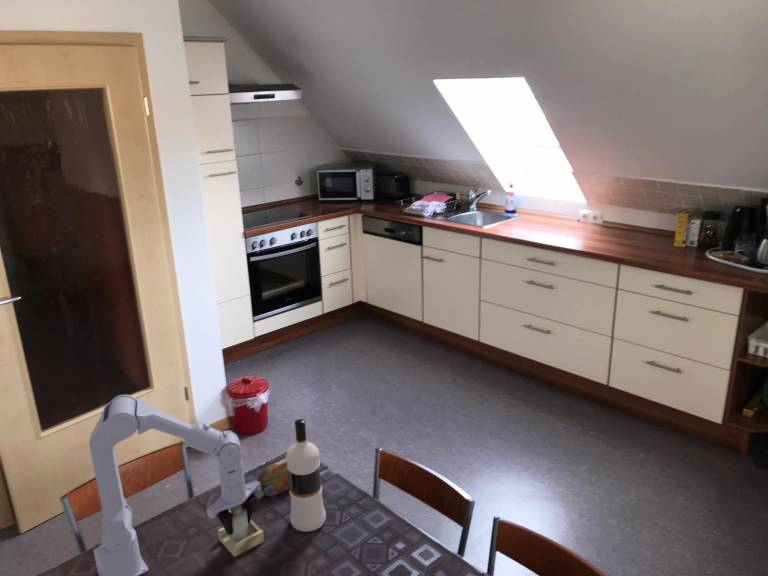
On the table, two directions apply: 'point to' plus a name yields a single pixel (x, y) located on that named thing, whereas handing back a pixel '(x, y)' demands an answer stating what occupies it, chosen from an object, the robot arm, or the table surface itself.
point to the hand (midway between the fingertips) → (238, 526)
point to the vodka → (305, 483)
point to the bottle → (239, 523)
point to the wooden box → (243, 544)
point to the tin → (274, 478)
